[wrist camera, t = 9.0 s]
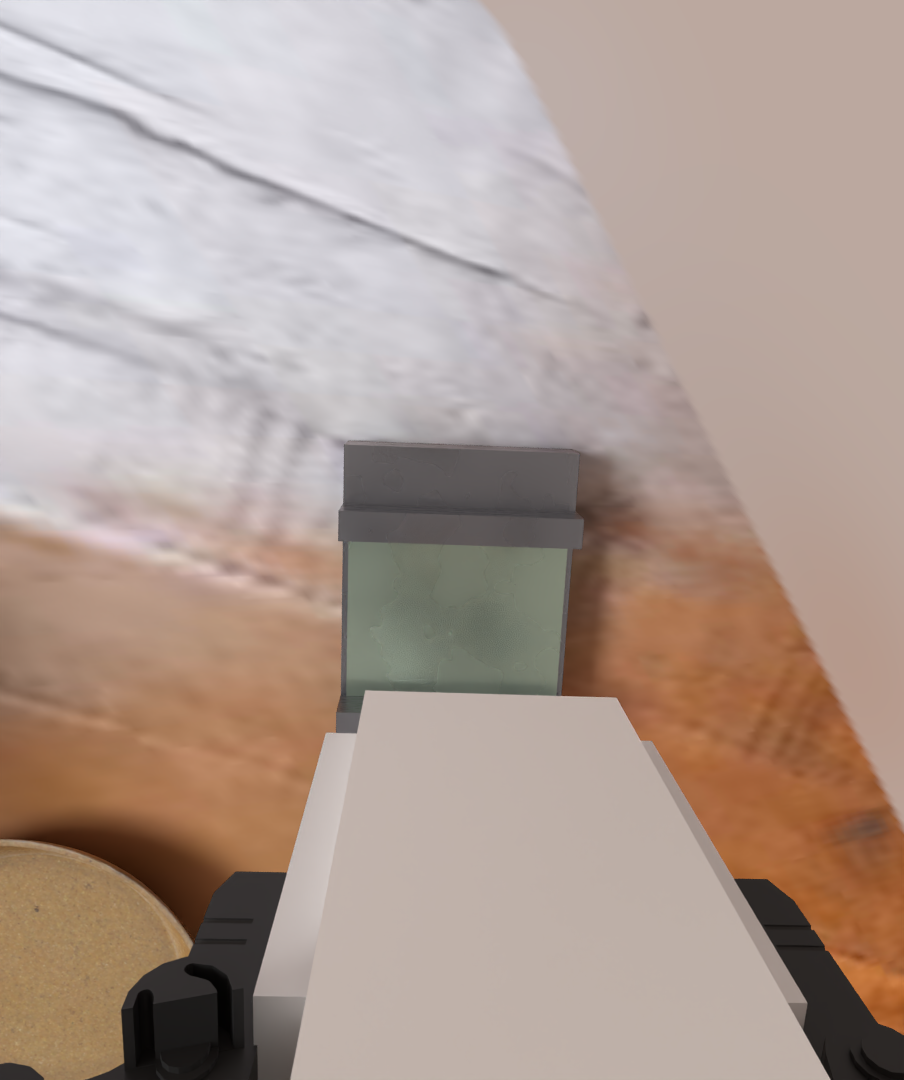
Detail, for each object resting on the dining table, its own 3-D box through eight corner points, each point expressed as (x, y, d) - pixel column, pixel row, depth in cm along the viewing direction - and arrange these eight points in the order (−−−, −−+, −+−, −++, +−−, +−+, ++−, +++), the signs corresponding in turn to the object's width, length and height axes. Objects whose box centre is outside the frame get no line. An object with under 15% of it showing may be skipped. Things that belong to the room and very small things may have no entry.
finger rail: (523, 1091, 34) (566, 1406, 23) (339, 1091, 33) (301, 1410, 23) (571, 449, 28) (657, 494, 18) (348, 440, 27) (303, 481, 17)
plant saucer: (-4, 1159, 34) (-38, 1224, 31) (-212, 898, 31) (-270, 945, 28) (294, 1024, 33) (283, 1079, 30) (109, 741, 30) (79, 775, 27)
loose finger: (365, 690, 15) (279, 1134, 6) (616, 697, 15) (863, 1139, 7) (361, 889, 16) (282, 1508, 7) (597, 894, 16) (790, 1503, 8)
